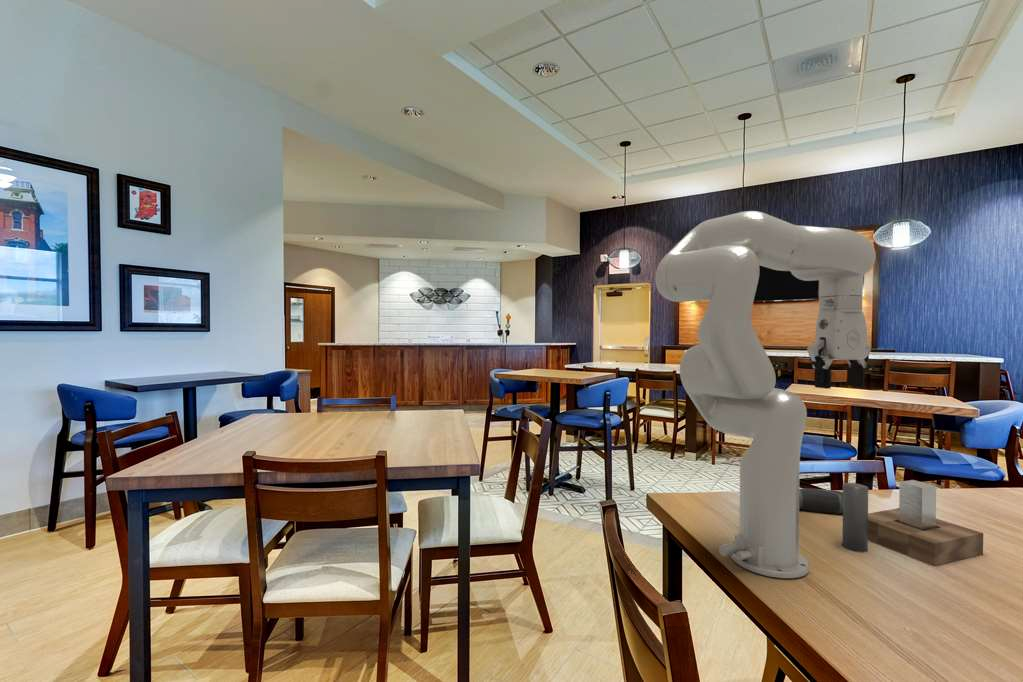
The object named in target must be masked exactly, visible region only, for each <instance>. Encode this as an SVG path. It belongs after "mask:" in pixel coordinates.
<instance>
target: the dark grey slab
mask: <svg viewBox="0 0 1023 682" xmlns="http://www.w3.org/2000/svg"><path fill="white" fill-rule="evenodd" d="M803 509H804V510H805V511H810V512H814V511H815V512H816V513H822V512H823V513H824V514H832V513H833V515H843V491H838V490H833V489H823V488H822V489H820V488H799V510H803ZM815 512H814V513H815ZM823 513H822V514H823Z"/></svg>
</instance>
